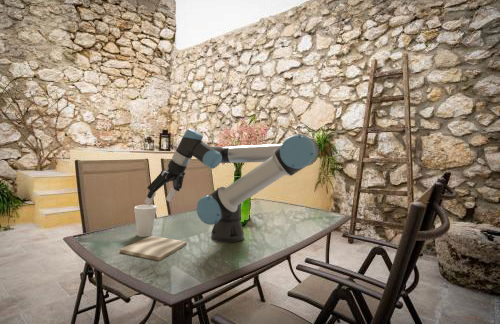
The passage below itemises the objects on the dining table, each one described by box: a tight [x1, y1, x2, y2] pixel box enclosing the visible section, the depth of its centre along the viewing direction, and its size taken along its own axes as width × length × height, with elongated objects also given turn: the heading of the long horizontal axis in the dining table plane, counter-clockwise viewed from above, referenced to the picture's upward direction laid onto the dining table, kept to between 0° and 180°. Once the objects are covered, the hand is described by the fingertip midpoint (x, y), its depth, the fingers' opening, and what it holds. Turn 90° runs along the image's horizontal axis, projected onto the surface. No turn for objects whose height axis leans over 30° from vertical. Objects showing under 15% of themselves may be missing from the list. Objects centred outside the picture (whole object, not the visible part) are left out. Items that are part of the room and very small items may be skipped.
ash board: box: [119, 235, 188, 261], centre depth 108 cm, size 18×18×1 cm
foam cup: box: [133, 204, 157, 238], centre depth 124 cm, size 10×9×13 cm
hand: (157, 202), depth 120 cm, fingers open, 13 cm apart
